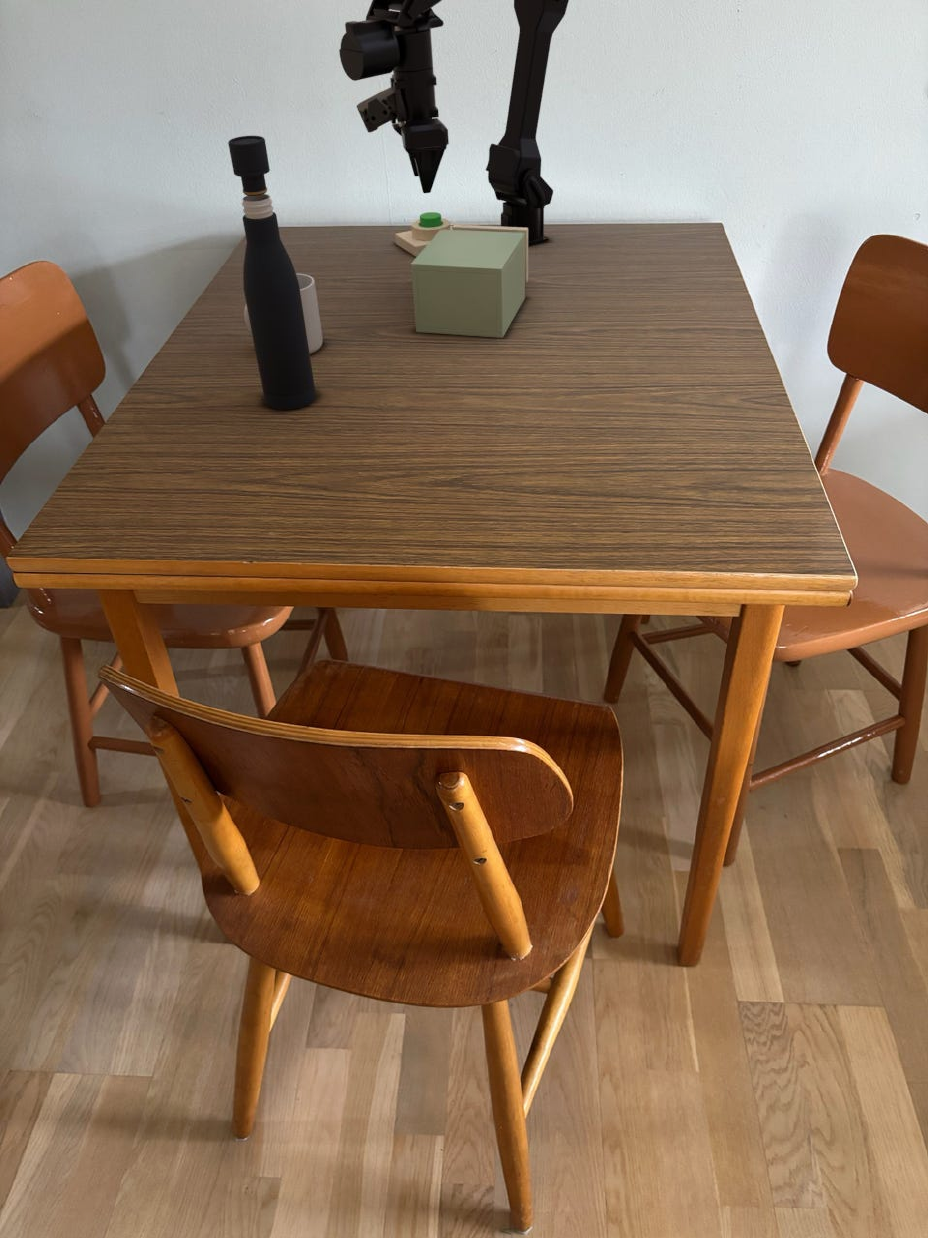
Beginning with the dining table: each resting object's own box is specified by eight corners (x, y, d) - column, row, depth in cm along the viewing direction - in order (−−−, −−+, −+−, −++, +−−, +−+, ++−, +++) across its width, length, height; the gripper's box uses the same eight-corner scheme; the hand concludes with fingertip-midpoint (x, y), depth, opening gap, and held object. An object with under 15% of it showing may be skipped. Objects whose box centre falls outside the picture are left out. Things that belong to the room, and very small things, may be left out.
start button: (435, 221, 164) (435, 210, 162) (445, 226, 161) (444, 215, 160) (416, 225, 162) (416, 214, 161) (426, 230, 160) (425, 219, 159)
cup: (325, 354, 131) (316, 289, 125) (252, 363, 129) (239, 298, 124) (321, 333, 136) (312, 270, 130) (250, 342, 135) (238, 279, 129)
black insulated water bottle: (274, 415, 117) (225, 150, 98) (258, 394, 122) (208, 138, 103) (323, 402, 119) (285, 140, 100) (305, 382, 124) (265, 129, 105)
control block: (447, 232, 168) (446, 212, 166) (468, 245, 163) (468, 223, 160) (395, 243, 165) (394, 222, 162) (416, 256, 159) (414, 235, 157)
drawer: (463, 267, 152) (461, 216, 147) (533, 270, 149) (533, 218, 144) (432, 309, 139) (428, 254, 134) (508, 313, 136) (507, 258, 132)
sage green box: (444, 293, 146) (440, 229, 140) (524, 298, 143) (524, 232, 137) (415, 332, 135) (410, 263, 129) (502, 338, 132) (501, 268, 126)
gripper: (350, 61, 142) (363, 173, 152) (363, 86, 128) (376, 208, 138) (424, 53, 143) (432, 165, 153) (445, 78, 129) (452, 199, 139)
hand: (422, 183), depth 145 cm, fingers open, 9 cm apart
